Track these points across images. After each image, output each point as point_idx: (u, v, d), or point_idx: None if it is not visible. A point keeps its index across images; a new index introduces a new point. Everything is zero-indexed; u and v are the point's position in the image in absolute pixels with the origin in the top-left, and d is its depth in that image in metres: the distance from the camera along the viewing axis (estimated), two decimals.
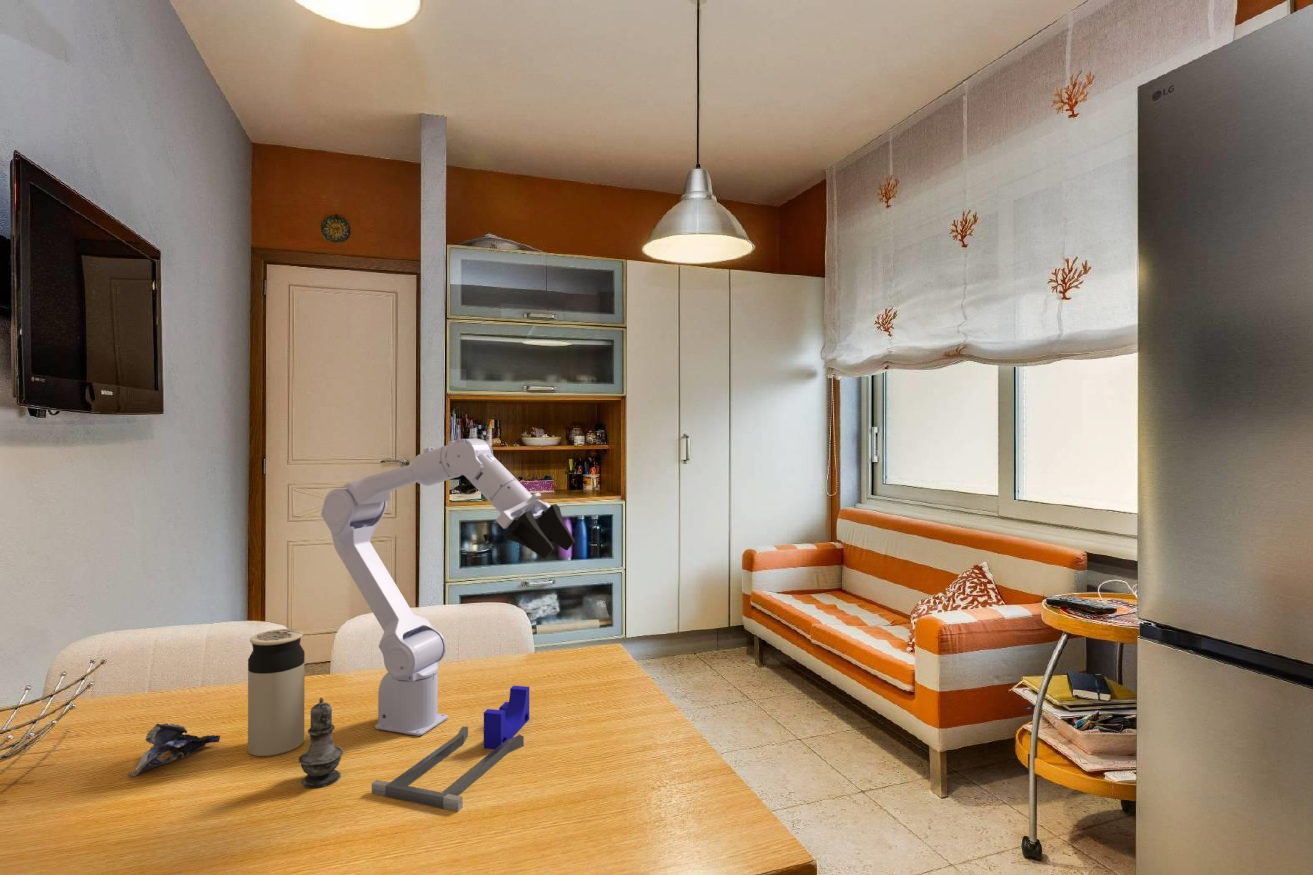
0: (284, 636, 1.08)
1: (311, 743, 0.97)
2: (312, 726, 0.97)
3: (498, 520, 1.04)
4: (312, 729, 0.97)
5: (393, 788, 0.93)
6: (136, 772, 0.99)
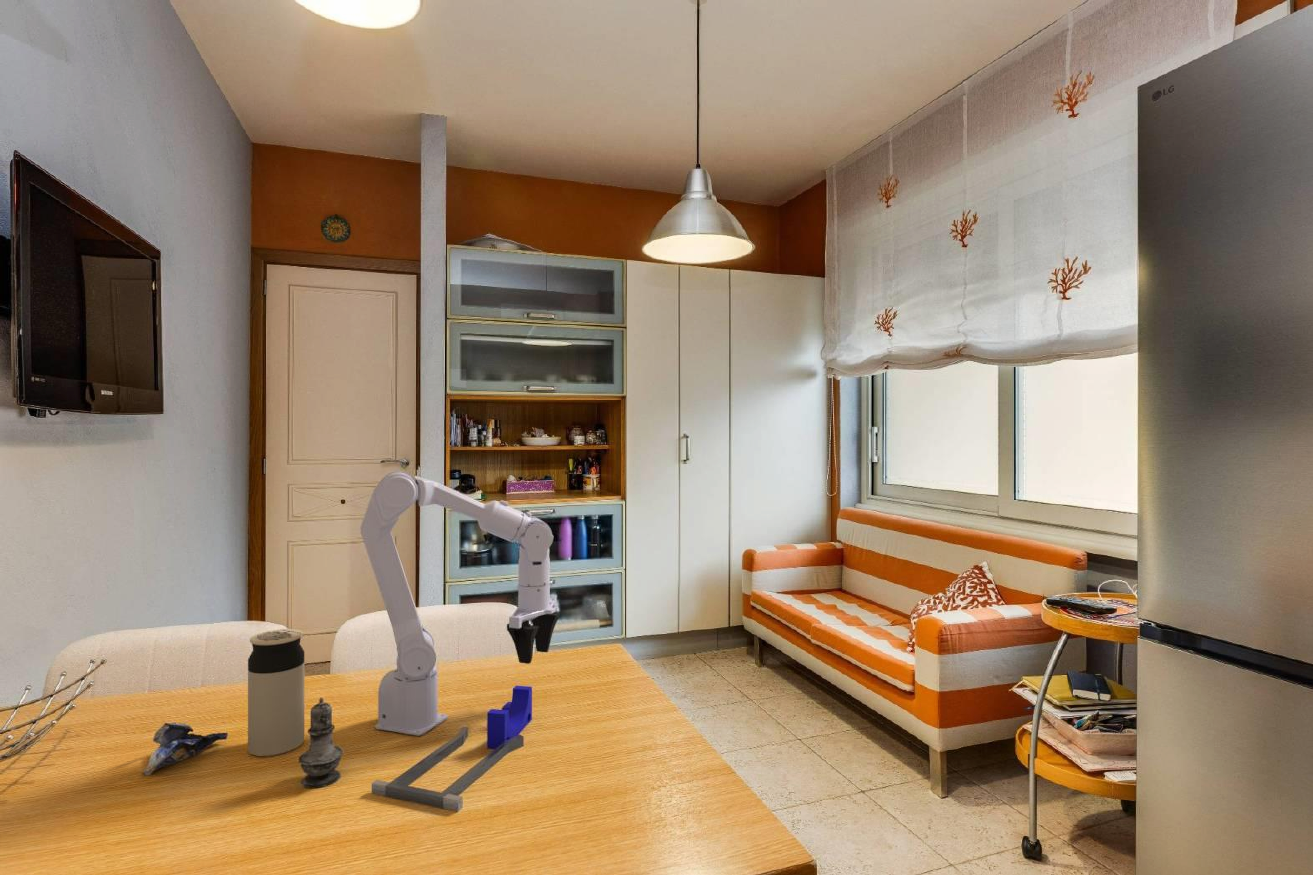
0: (284, 636, 1.08)
1: (311, 743, 0.97)
2: (312, 726, 0.97)
3: (510, 619, 1.18)
4: (312, 729, 0.97)
5: (393, 788, 0.93)
6: (151, 771, 0.99)
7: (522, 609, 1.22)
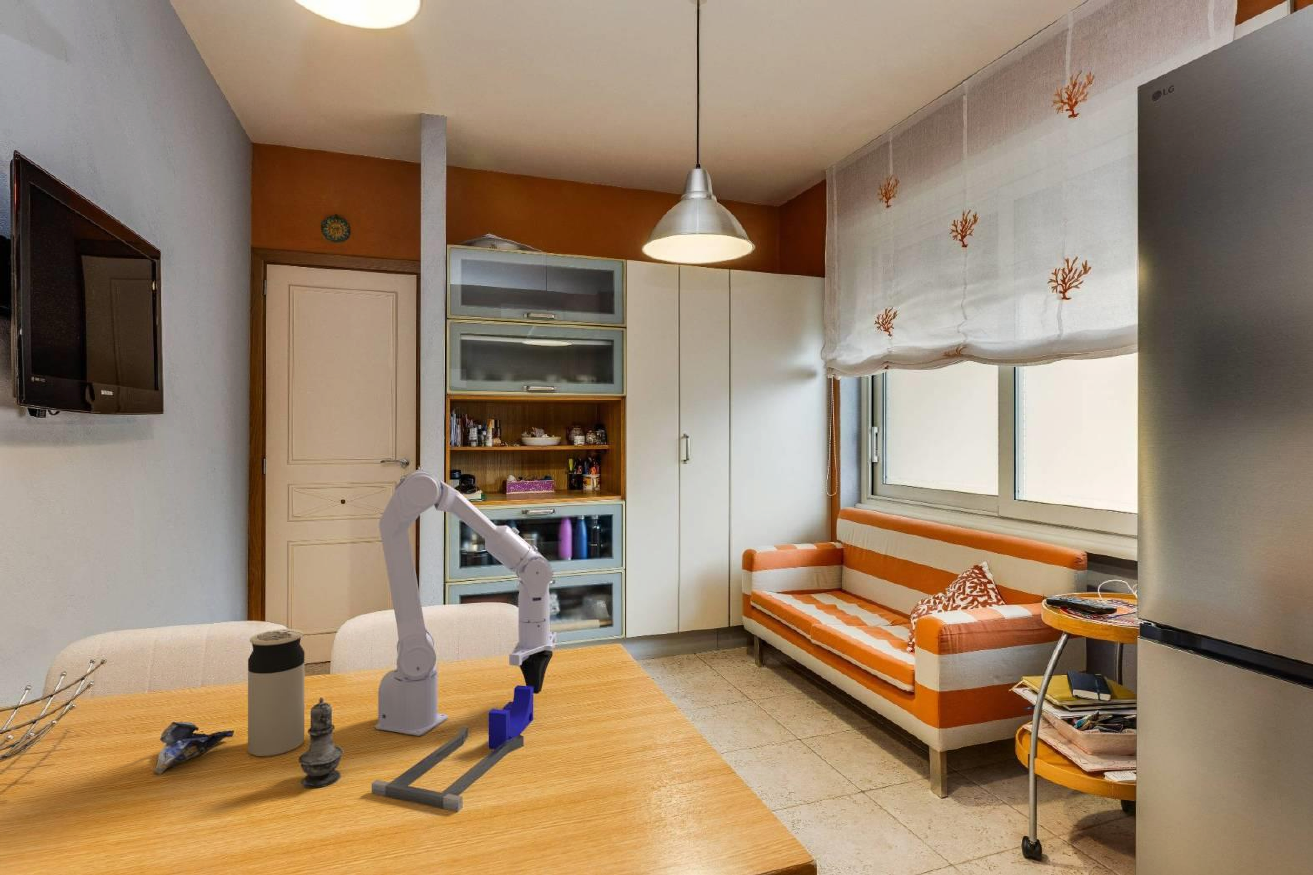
0: (284, 636, 1.08)
1: (311, 743, 0.97)
2: (312, 726, 0.97)
3: (511, 656, 1.18)
4: (312, 729, 0.97)
5: (393, 788, 0.93)
6: (163, 769, 1.00)
7: (522, 645, 1.22)
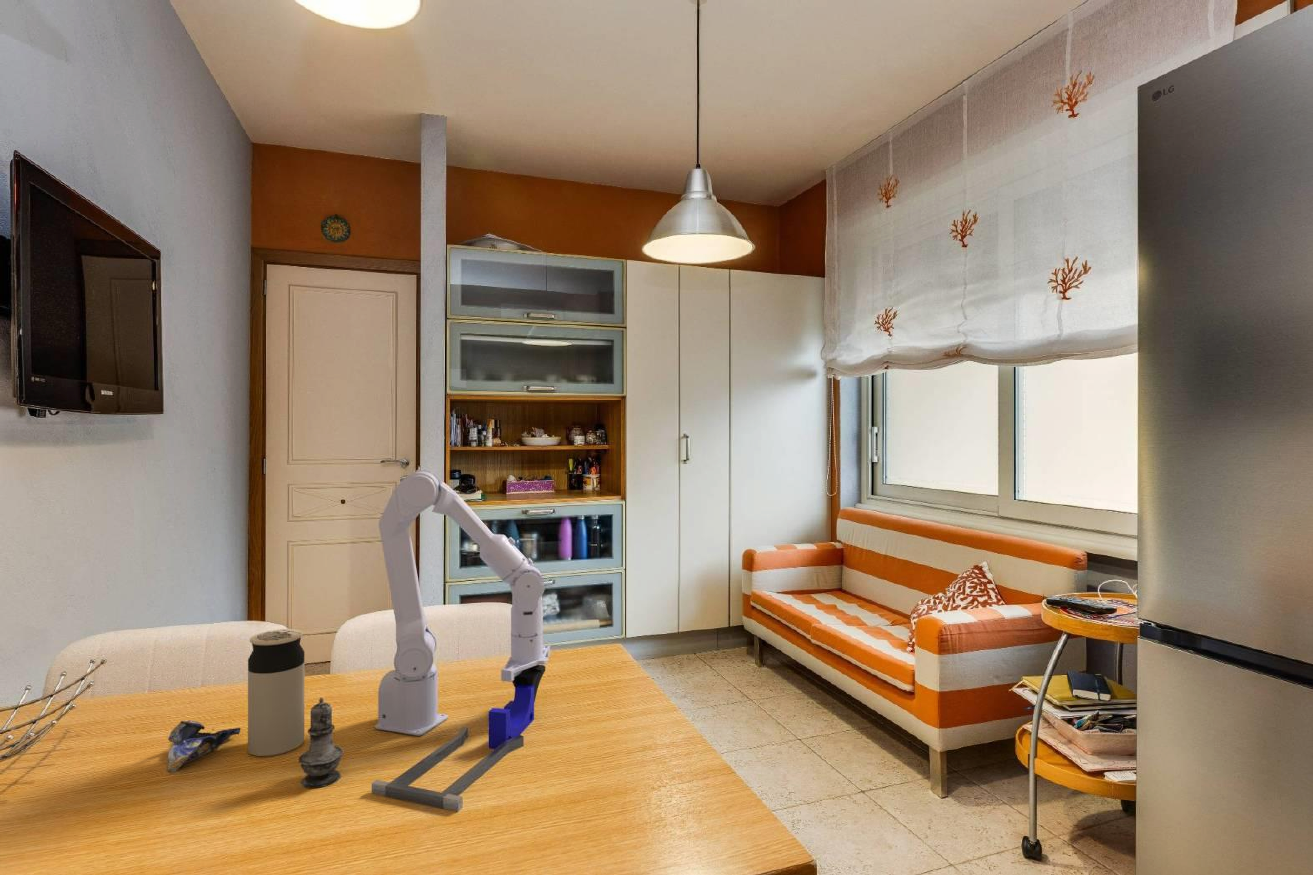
0: (284, 636, 1.08)
1: (311, 743, 0.97)
2: (312, 726, 0.97)
3: (502, 671, 1.15)
4: (312, 729, 0.97)
5: (393, 788, 0.93)
6: (178, 766, 1.01)
7: (514, 660, 1.20)
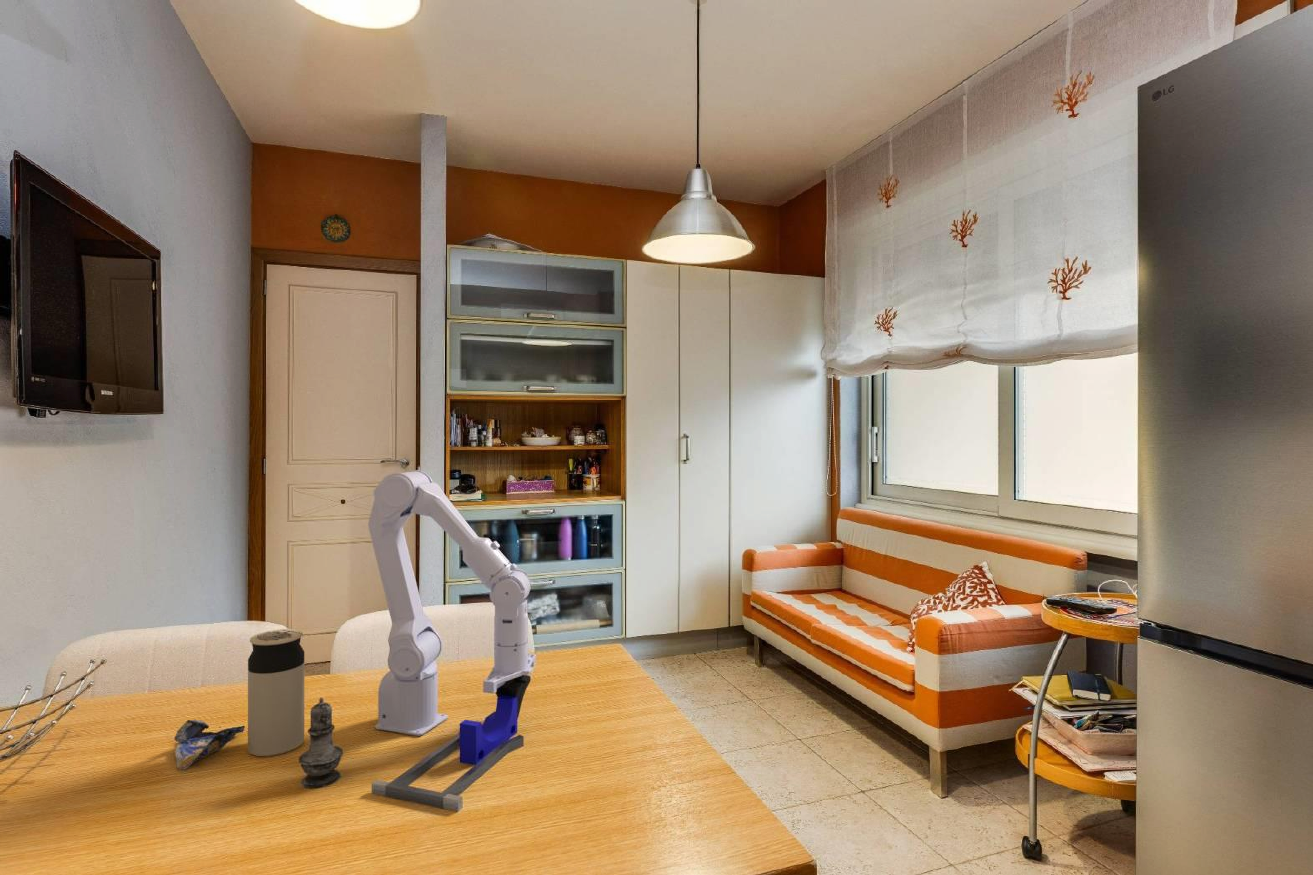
0: (284, 636, 1.08)
1: (311, 743, 0.97)
2: (312, 726, 0.97)
3: (484, 683, 1.10)
4: (312, 729, 0.97)
5: (393, 788, 0.93)
6: (188, 764, 1.01)
7: (498, 670, 1.15)
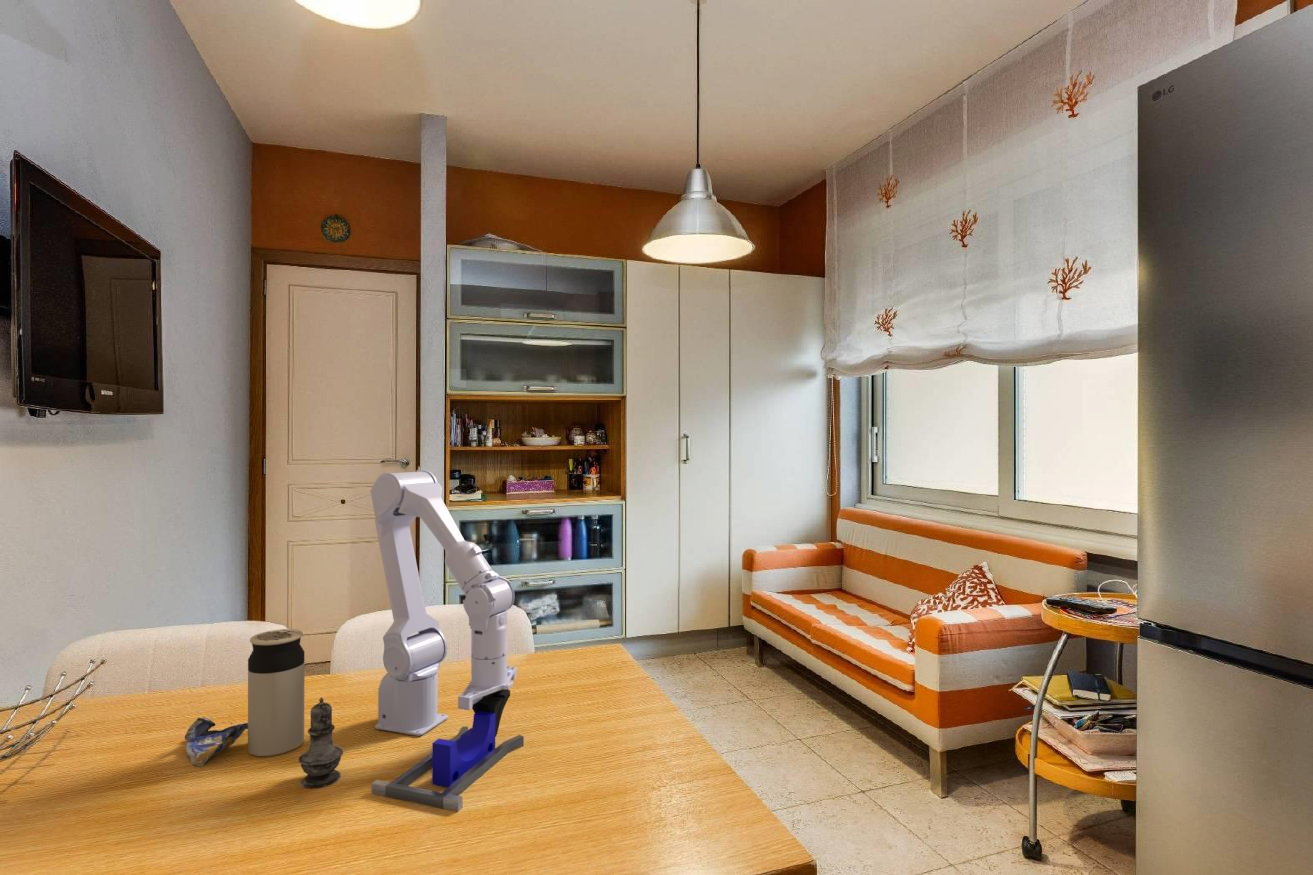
0: (284, 636, 1.08)
1: (311, 743, 0.97)
2: (312, 726, 0.97)
3: (460, 698, 1.04)
4: (312, 729, 0.97)
5: (393, 788, 0.93)
6: (205, 760, 1.03)
7: (475, 684, 1.08)
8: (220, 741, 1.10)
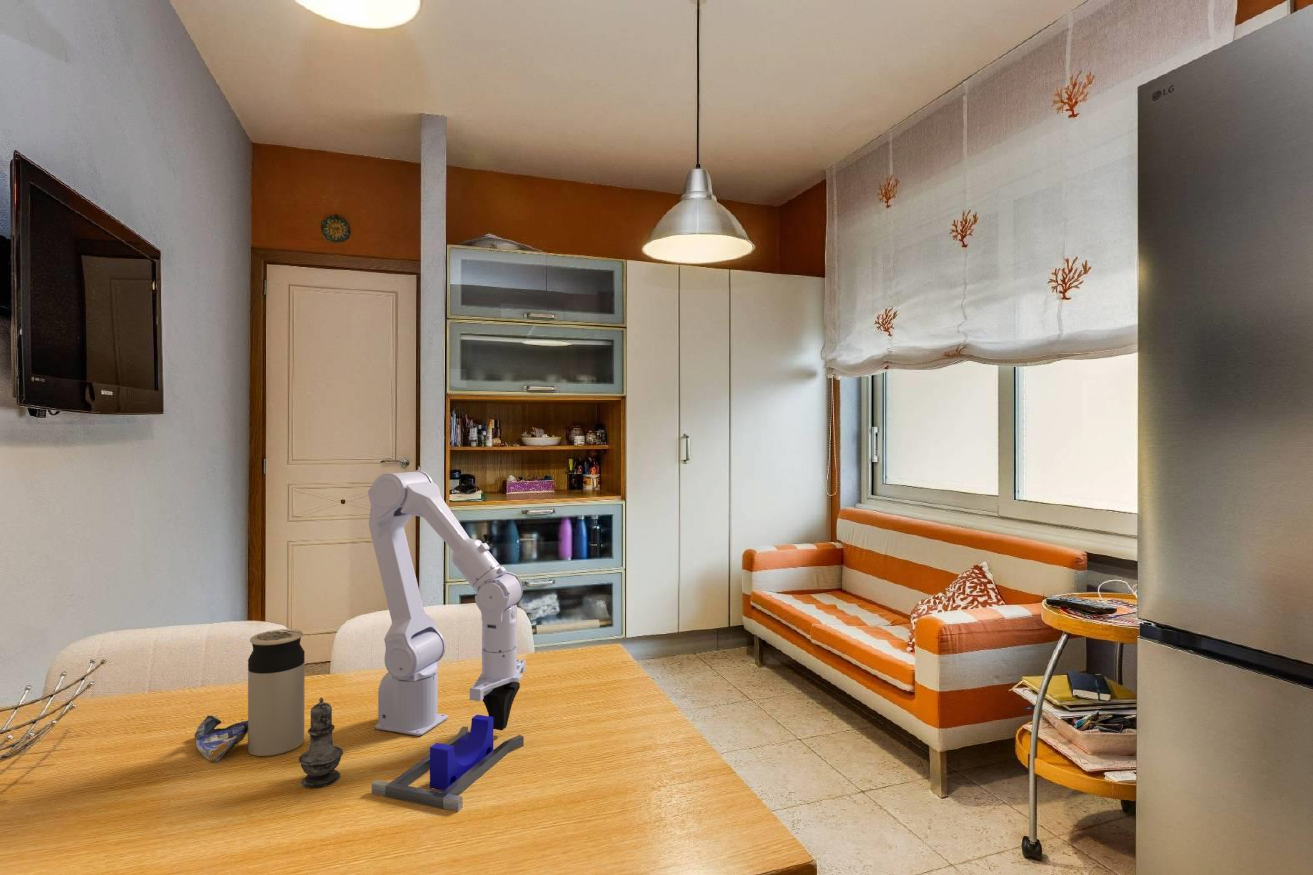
0: (284, 636, 1.08)
1: (311, 743, 0.97)
2: (312, 726, 0.97)
3: (471, 690, 1.07)
4: (312, 729, 0.97)
5: (393, 788, 0.93)
6: (222, 755, 1.04)
7: (485, 677, 1.11)
8: (227, 738, 1.11)
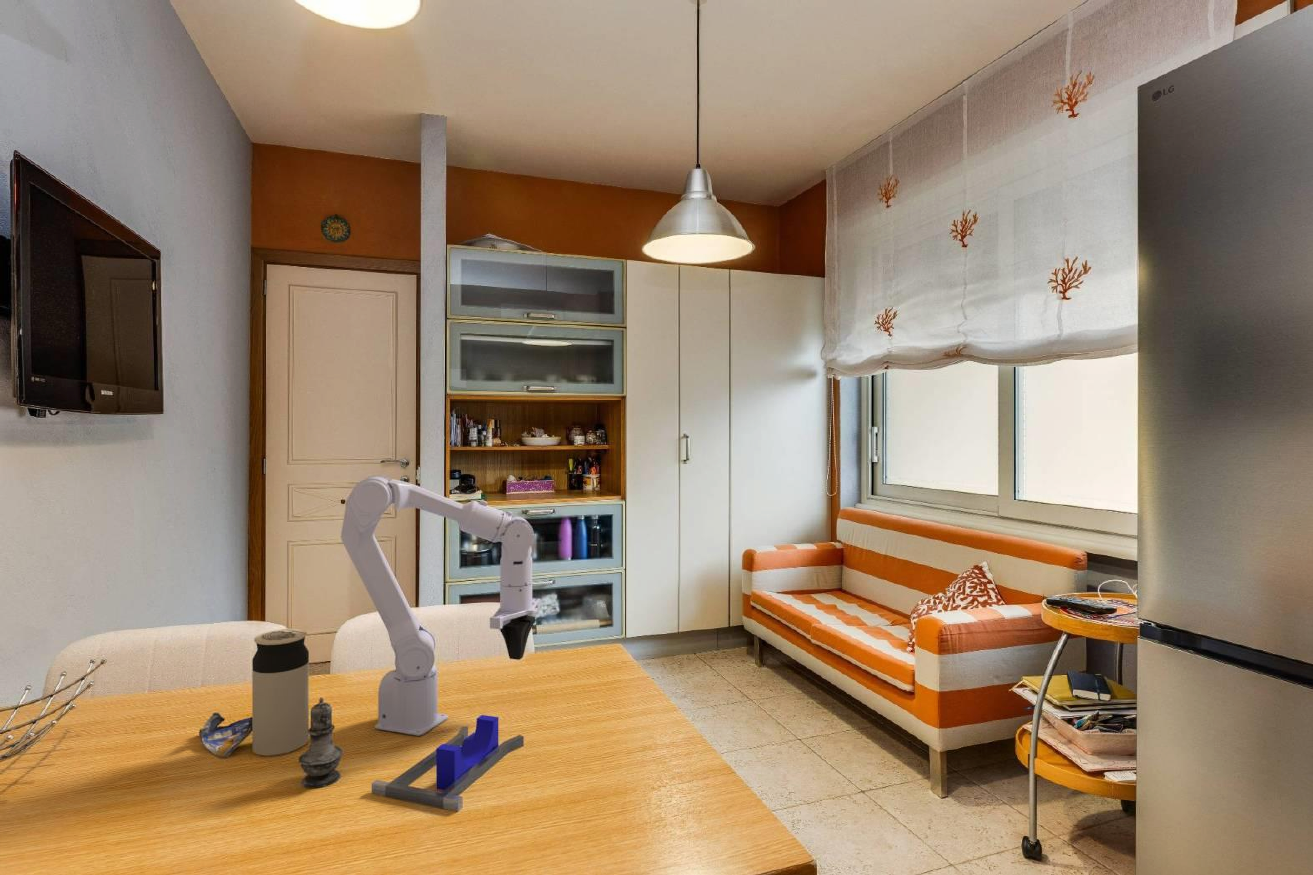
0: (288, 636, 1.08)
1: (311, 743, 0.97)
2: (312, 726, 0.97)
3: (491, 619, 1.16)
4: (312, 729, 0.97)
5: (393, 788, 0.93)
6: (231, 751, 1.06)
7: (504, 609, 1.20)
8: (231, 735, 1.13)
